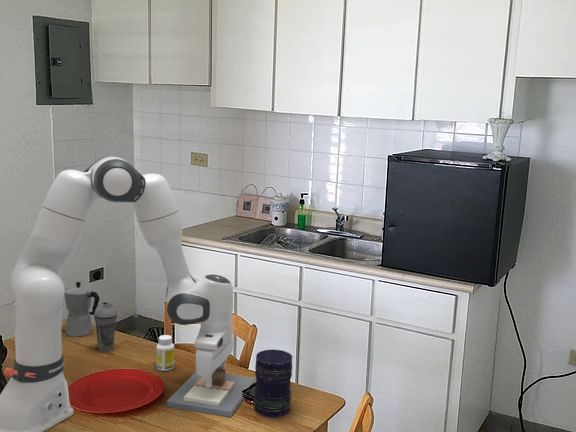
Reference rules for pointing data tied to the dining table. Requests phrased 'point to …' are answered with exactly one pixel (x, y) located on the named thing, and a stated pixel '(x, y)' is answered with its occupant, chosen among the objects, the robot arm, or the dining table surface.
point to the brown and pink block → (218, 381)
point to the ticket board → (210, 396)
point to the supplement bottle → (165, 353)
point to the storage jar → (273, 383)
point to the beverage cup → (105, 325)
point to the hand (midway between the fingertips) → (215, 379)
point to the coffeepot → (79, 310)
